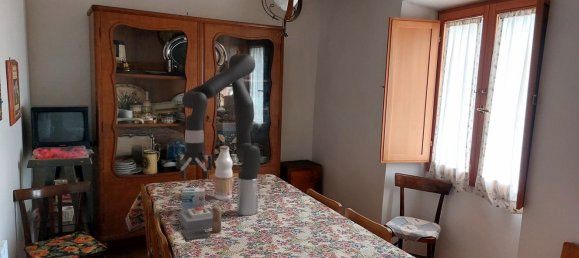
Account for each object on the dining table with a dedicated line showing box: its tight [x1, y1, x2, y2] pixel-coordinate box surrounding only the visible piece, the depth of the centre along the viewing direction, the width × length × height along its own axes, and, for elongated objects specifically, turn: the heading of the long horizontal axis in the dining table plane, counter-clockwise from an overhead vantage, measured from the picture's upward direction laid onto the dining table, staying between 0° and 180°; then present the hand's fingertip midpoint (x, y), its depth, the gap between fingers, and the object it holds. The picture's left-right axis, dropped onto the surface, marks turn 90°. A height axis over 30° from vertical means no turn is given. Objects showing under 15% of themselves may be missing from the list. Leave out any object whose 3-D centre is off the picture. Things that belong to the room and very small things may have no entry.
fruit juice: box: [214, 145, 234, 201], centre depth 203 cm, size 9×9×28 cm
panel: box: [178, 206, 213, 231], centre depth 166 cm, size 14×14×6 cm
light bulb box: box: [180, 187, 206, 211], centre depth 180 cm, size 11×7×11 cm, turn 105°
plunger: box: [195, 206, 203, 214], centre depth 165 cm, size 4×4×4 cm
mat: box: [180, 228, 210, 241], centre depth 153 cm, size 9×9×1 cm
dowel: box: [211, 206, 222, 234], centre depth 157 cm, size 4×4×10 cm
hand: (194, 179), depth 156 cm, fingers open, 8 cm apart
